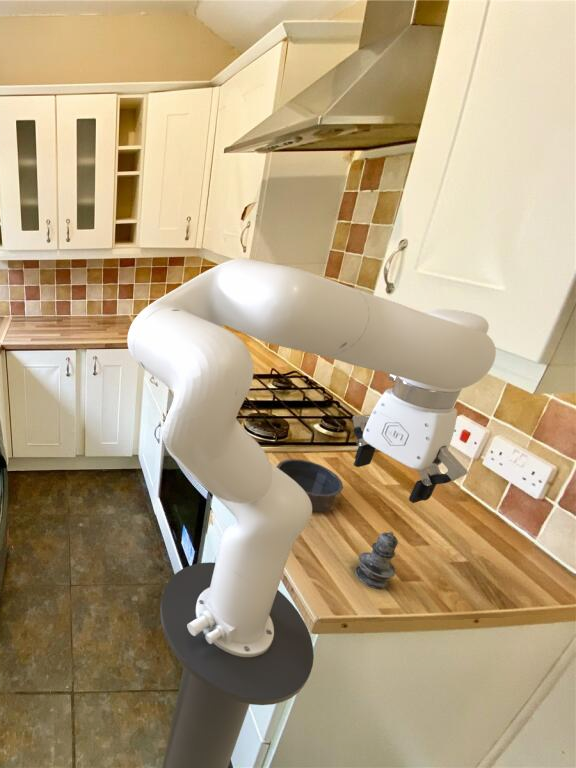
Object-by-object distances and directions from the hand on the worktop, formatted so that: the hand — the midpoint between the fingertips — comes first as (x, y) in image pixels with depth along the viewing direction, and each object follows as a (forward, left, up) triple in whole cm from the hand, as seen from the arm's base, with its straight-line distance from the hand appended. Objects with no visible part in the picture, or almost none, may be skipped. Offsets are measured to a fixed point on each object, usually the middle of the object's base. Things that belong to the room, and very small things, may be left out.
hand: (387, 481), depth 70 cm
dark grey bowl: (+18, +20, -24) cm, 36 cm away
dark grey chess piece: (+5, -2, -24) cm, 25 cm away
